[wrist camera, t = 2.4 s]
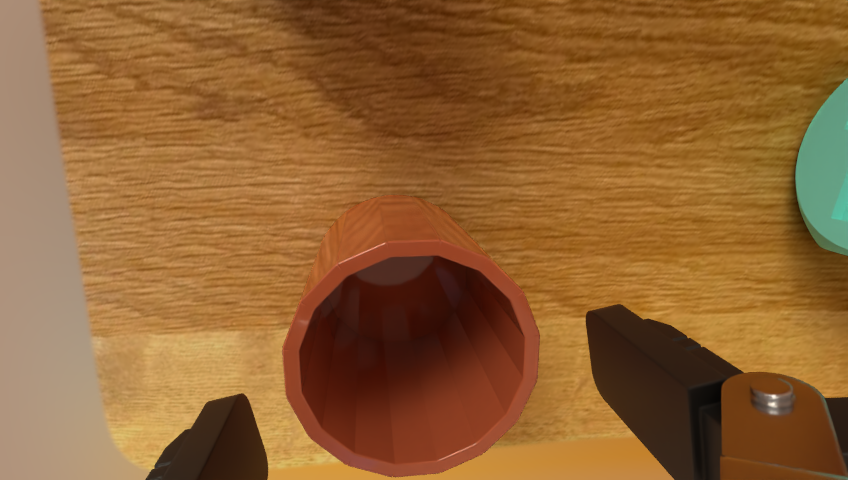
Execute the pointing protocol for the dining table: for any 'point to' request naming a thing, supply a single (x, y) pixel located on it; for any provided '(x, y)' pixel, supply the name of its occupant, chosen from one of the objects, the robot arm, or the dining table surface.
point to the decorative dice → (826, 174)
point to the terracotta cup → (408, 342)
